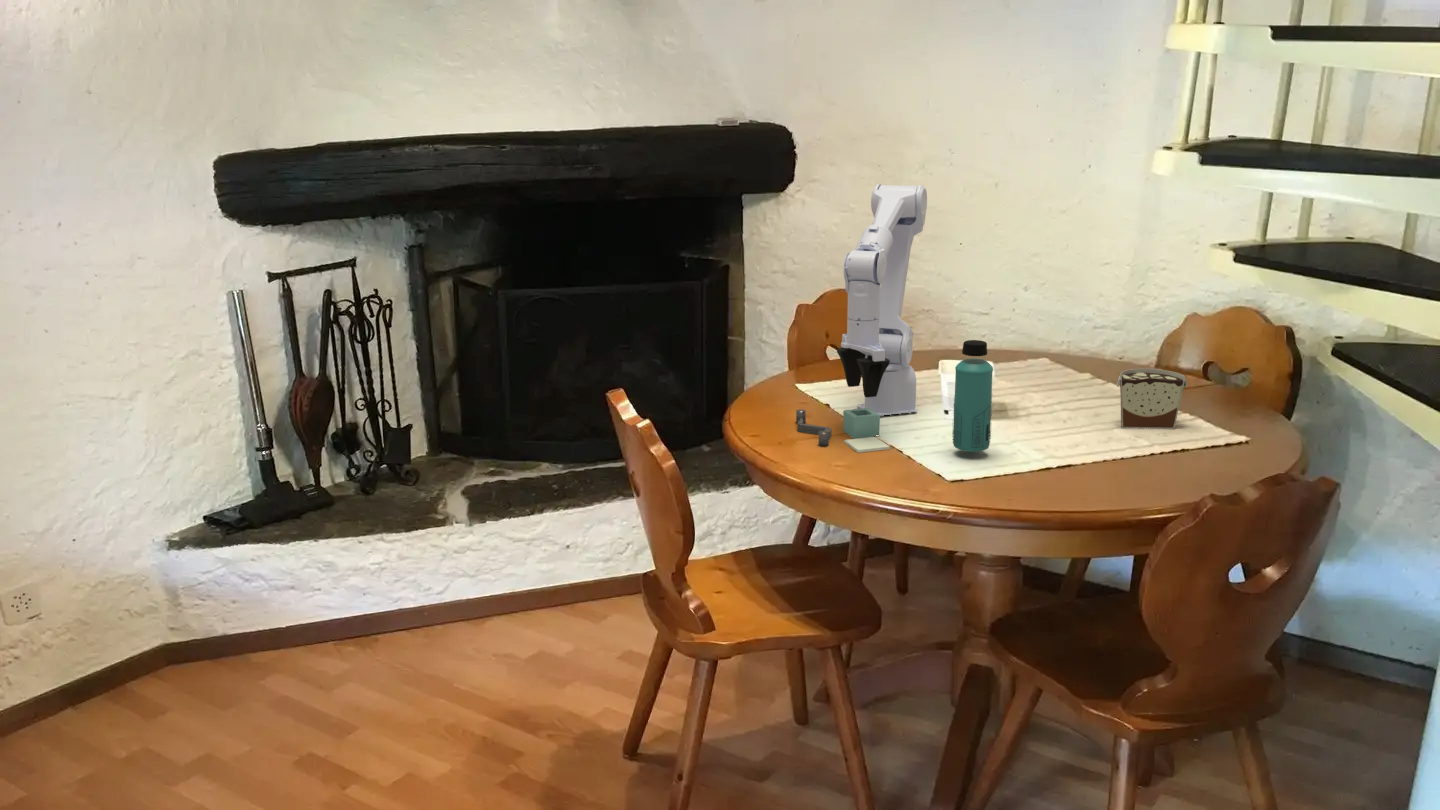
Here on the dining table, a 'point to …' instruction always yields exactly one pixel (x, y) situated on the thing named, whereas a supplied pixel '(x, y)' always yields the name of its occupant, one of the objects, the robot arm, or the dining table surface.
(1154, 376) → the food container
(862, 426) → the hollow square tube
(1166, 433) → the dining table surface
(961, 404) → the beverage bottle
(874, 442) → the coaster
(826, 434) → the grey zigzag bar
